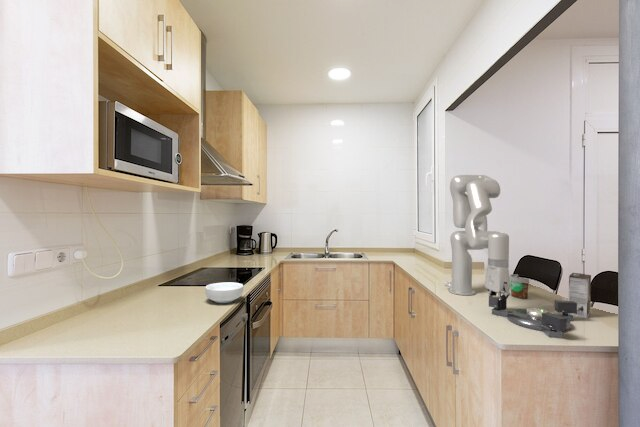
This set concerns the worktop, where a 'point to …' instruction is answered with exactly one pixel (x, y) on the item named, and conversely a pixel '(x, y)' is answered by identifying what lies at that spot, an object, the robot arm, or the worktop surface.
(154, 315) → the worktop surface
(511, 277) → the food container
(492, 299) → the dark grey bracket
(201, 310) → the worktop surface
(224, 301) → the cereal bowl
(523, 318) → the levelling base
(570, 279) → the coffee box
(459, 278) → the robot arm
